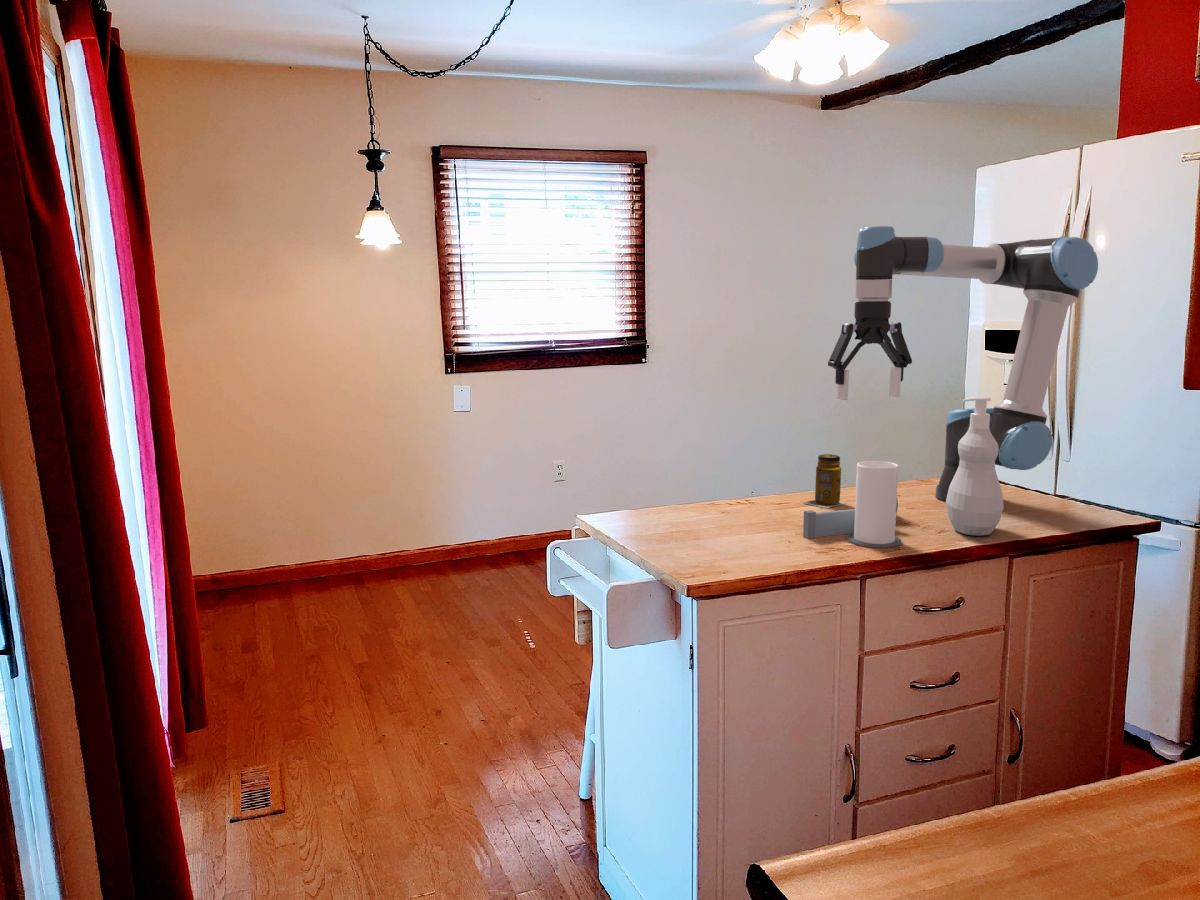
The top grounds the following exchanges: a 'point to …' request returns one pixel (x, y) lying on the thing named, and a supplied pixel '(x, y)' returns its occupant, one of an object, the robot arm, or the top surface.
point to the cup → (876, 502)
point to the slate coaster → (851, 539)
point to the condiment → (827, 482)
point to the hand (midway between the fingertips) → (868, 398)
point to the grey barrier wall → (828, 523)
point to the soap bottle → (976, 478)
